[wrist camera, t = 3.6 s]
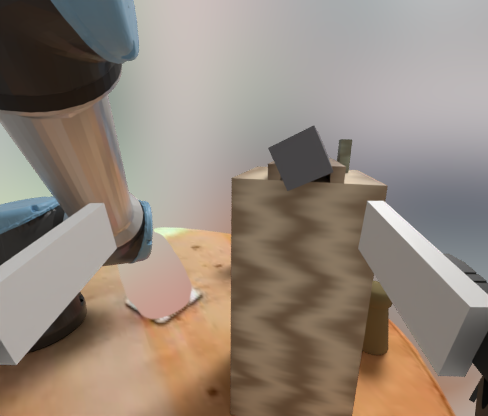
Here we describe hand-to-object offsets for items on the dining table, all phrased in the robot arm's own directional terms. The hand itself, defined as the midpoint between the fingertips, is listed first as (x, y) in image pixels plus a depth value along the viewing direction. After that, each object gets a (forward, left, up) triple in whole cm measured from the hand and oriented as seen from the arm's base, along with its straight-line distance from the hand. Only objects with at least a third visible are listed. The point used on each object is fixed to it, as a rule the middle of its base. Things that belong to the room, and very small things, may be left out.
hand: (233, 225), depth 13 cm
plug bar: (+4, +19, +2) cm, 20 cm away
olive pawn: (+16, +30, -29) cm, 45 cm away
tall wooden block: (+3, +19, -29) cm, 35 cm away
